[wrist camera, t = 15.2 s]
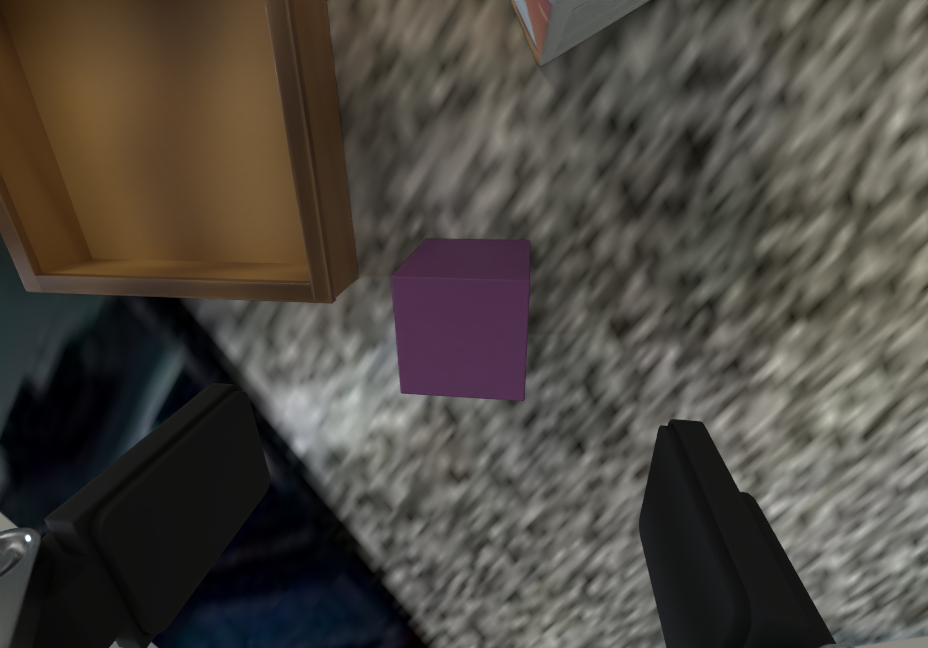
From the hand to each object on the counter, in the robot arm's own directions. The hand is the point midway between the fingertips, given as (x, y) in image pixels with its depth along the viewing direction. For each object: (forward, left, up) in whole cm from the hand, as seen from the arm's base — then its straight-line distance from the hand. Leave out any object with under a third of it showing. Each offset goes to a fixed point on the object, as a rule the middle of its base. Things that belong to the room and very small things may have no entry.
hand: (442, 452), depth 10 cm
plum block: (+1, +1, -13) cm, 13 cm away
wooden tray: (+14, -7, -13) cm, 20 cm away
